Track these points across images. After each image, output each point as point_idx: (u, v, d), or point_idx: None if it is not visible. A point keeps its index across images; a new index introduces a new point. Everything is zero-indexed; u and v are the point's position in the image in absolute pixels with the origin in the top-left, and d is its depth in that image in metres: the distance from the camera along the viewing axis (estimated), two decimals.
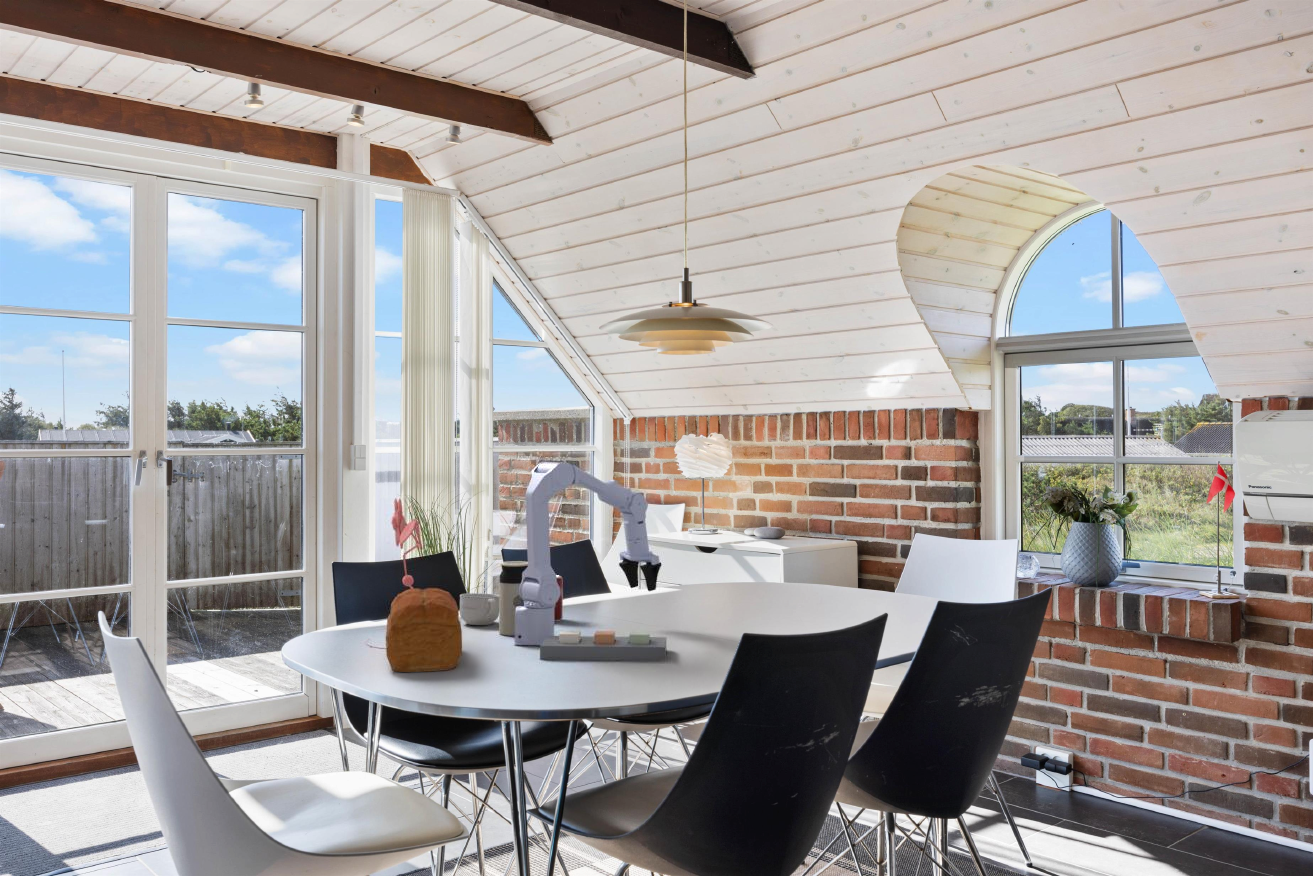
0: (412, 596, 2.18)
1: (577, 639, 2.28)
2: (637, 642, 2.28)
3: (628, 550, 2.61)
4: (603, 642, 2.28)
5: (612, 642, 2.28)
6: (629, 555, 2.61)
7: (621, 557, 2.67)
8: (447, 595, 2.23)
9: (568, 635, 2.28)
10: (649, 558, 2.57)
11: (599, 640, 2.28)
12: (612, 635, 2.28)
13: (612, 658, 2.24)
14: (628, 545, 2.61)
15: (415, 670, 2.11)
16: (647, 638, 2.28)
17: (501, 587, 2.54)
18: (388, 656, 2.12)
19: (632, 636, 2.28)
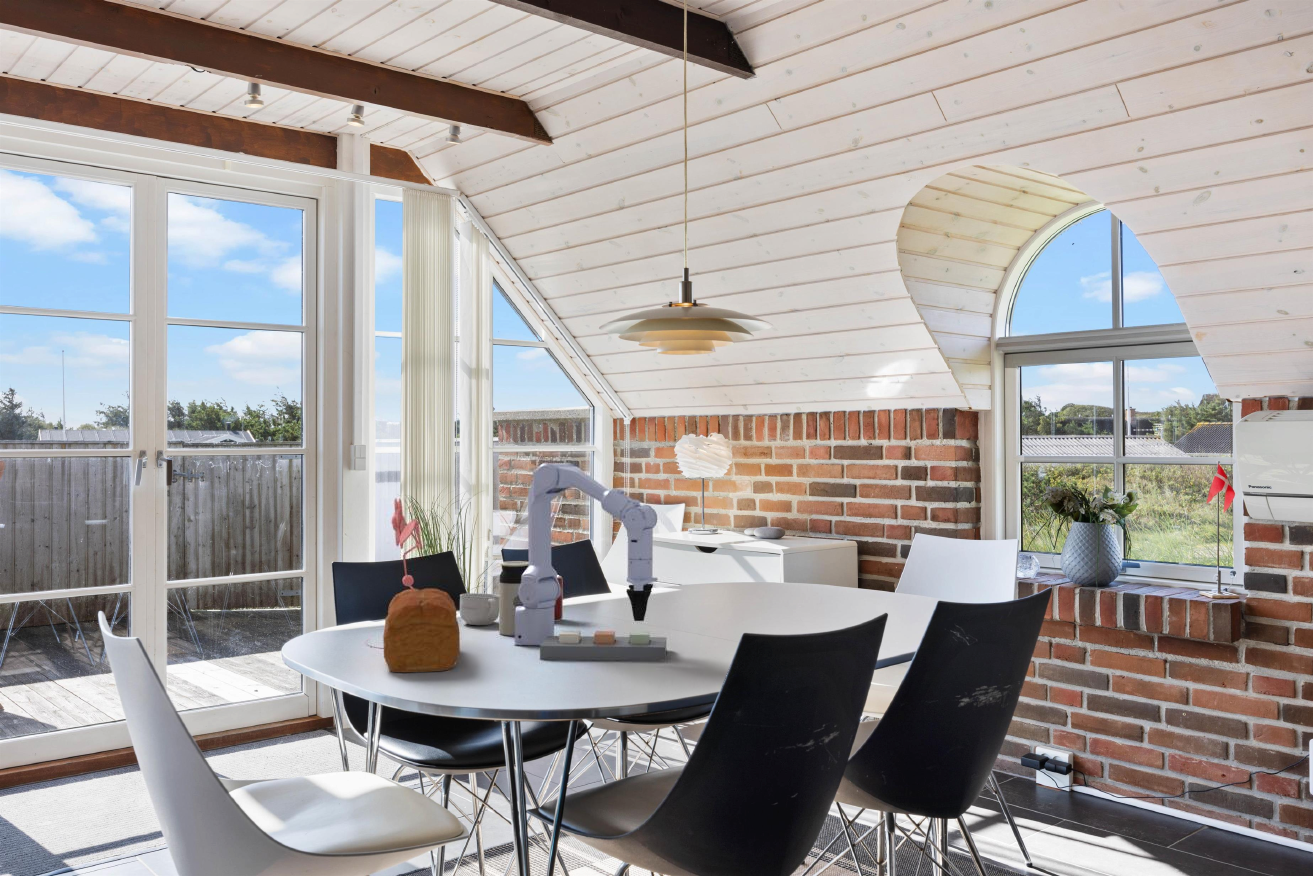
0: (410, 596, 2.17)
1: (577, 639, 2.28)
2: (637, 642, 2.28)
3: None
4: (603, 642, 2.28)
5: (612, 642, 2.28)
6: None
7: None
8: (445, 595, 2.23)
9: (568, 635, 2.28)
10: (633, 582, 2.24)
11: (599, 640, 2.28)
12: (612, 635, 2.28)
13: (612, 658, 2.24)
14: None
15: (412, 671, 2.11)
16: (647, 638, 2.28)
17: (501, 587, 2.54)
18: (385, 656, 2.11)
19: (632, 636, 2.28)
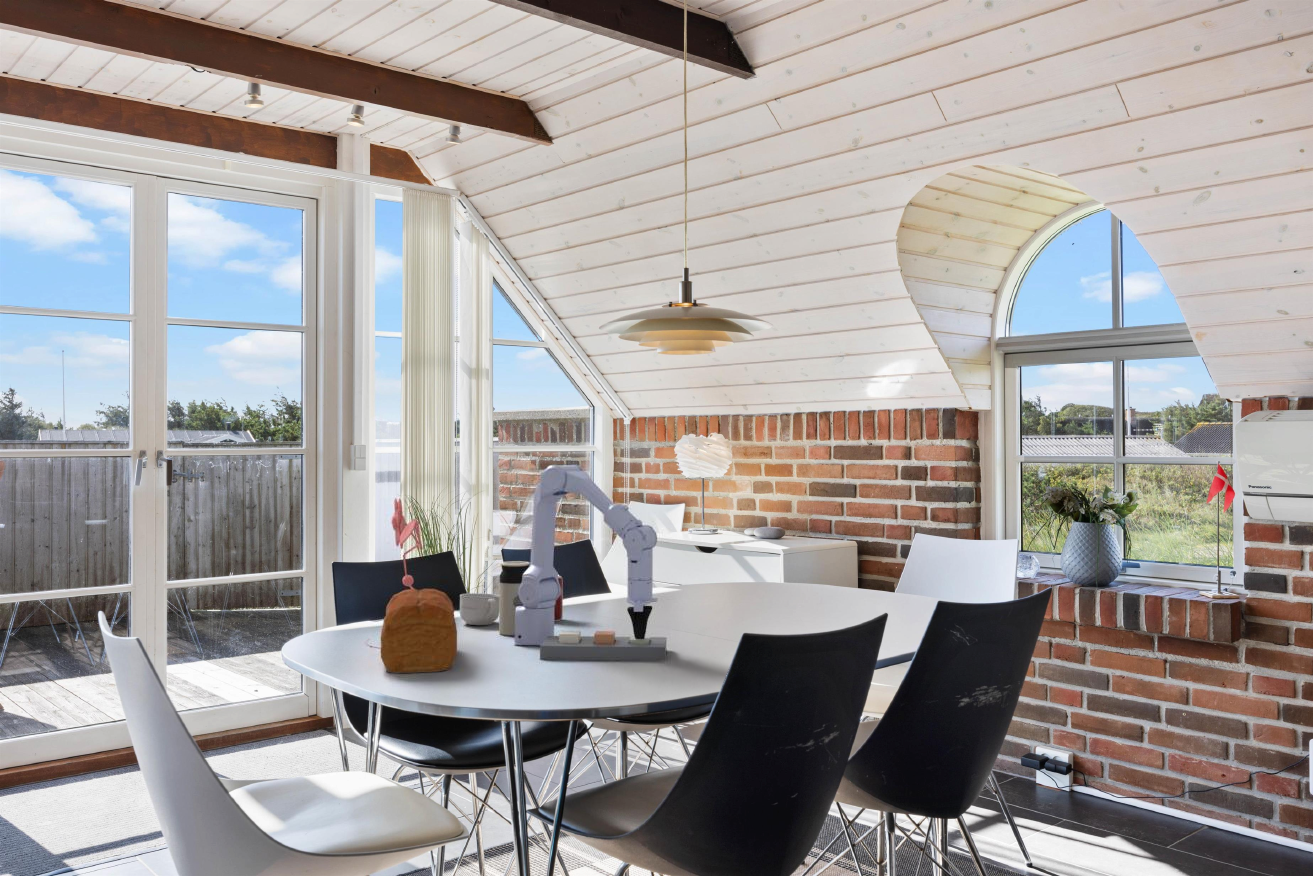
0: (407, 597, 2.17)
1: (577, 639, 2.28)
2: None
3: None
4: (603, 642, 2.28)
5: (612, 642, 2.28)
6: None
7: None
8: (443, 596, 2.22)
9: (568, 635, 2.28)
10: (633, 603, 2.24)
11: (599, 640, 2.28)
12: (612, 635, 2.28)
13: (612, 658, 2.24)
14: None
15: (409, 671, 2.10)
16: (647, 643, 2.28)
17: (501, 587, 2.54)
18: (382, 657, 2.11)
19: (632, 641, 2.28)
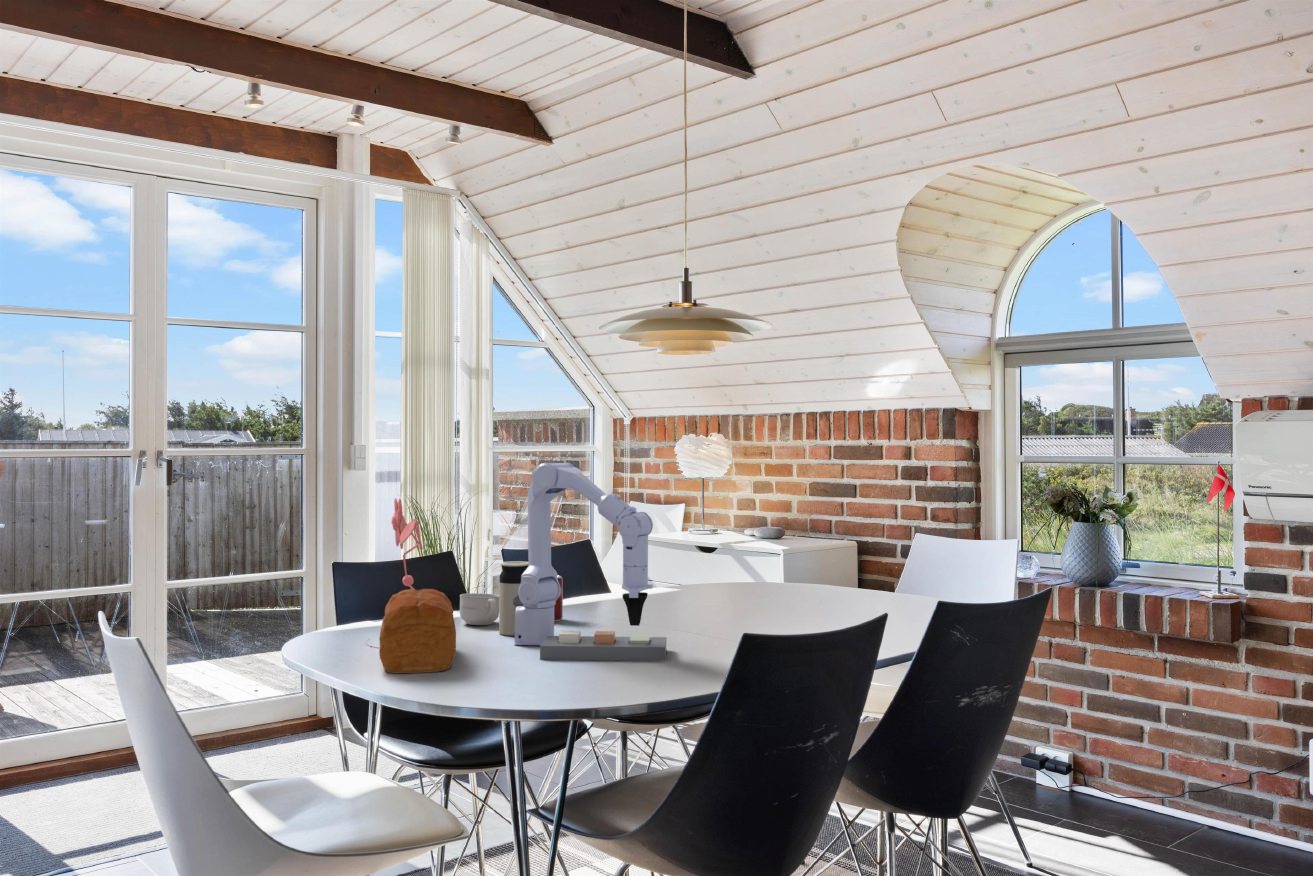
0: (406, 597, 2.17)
1: (577, 639, 2.28)
2: None
3: None
4: (603, 642, 2.28)
5: (612, 642, 2.28)
6: (623, 583, 2.30)
7: None
8: (442, 596, 2.22)
9: (568, 635, 2.28)
10: (628, 589, 2.24)
11: (599, 640, 2.28)
12: (612, 635, 2.28)
13: (612, 658, 2.24)
14: None
15: (408, 671, 2.10)
16: None
17: (501, 587, 2.54)
18: (381, 657, 2.11)
19: (632, 642, 2.28)
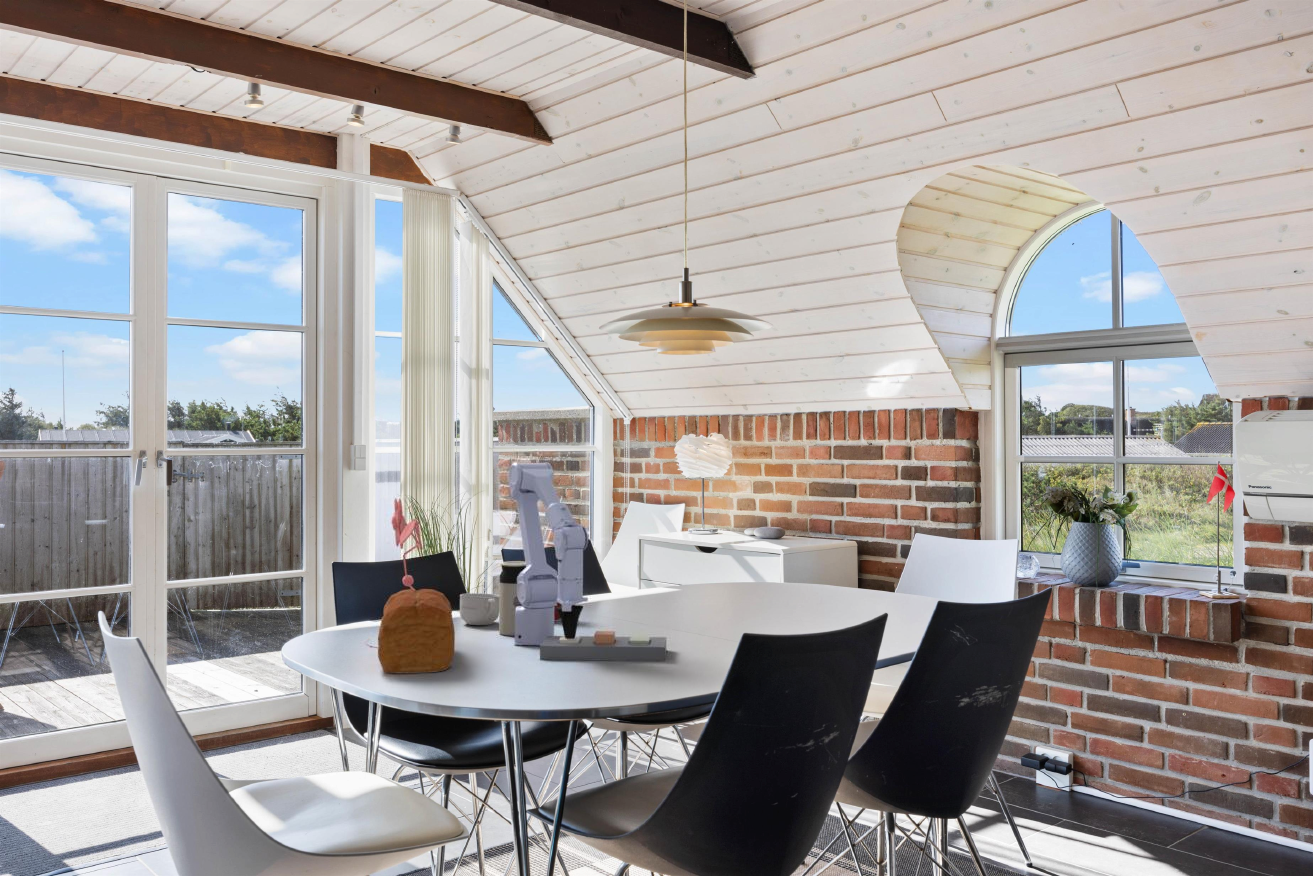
0: (404, 597, 2.16)
1: None
2: None
3: None
4: (603, 642, 2.28)
5: (612, 642, 2.28)
6: None
7: None
8: (440, 596, 2.22)
9: (568, 641, 2.28)
10: (562, 603, 2.25)
11: (599, 640, 2.28)
12: (612, 635, 2.28)
13: (612, 658, 2.24)
14: None
15: (406, 672, 2.10)
16: None
17: (501, 587, 2.54)
18: (379, 657, 2.10)
19: (632, 642, 2.28)
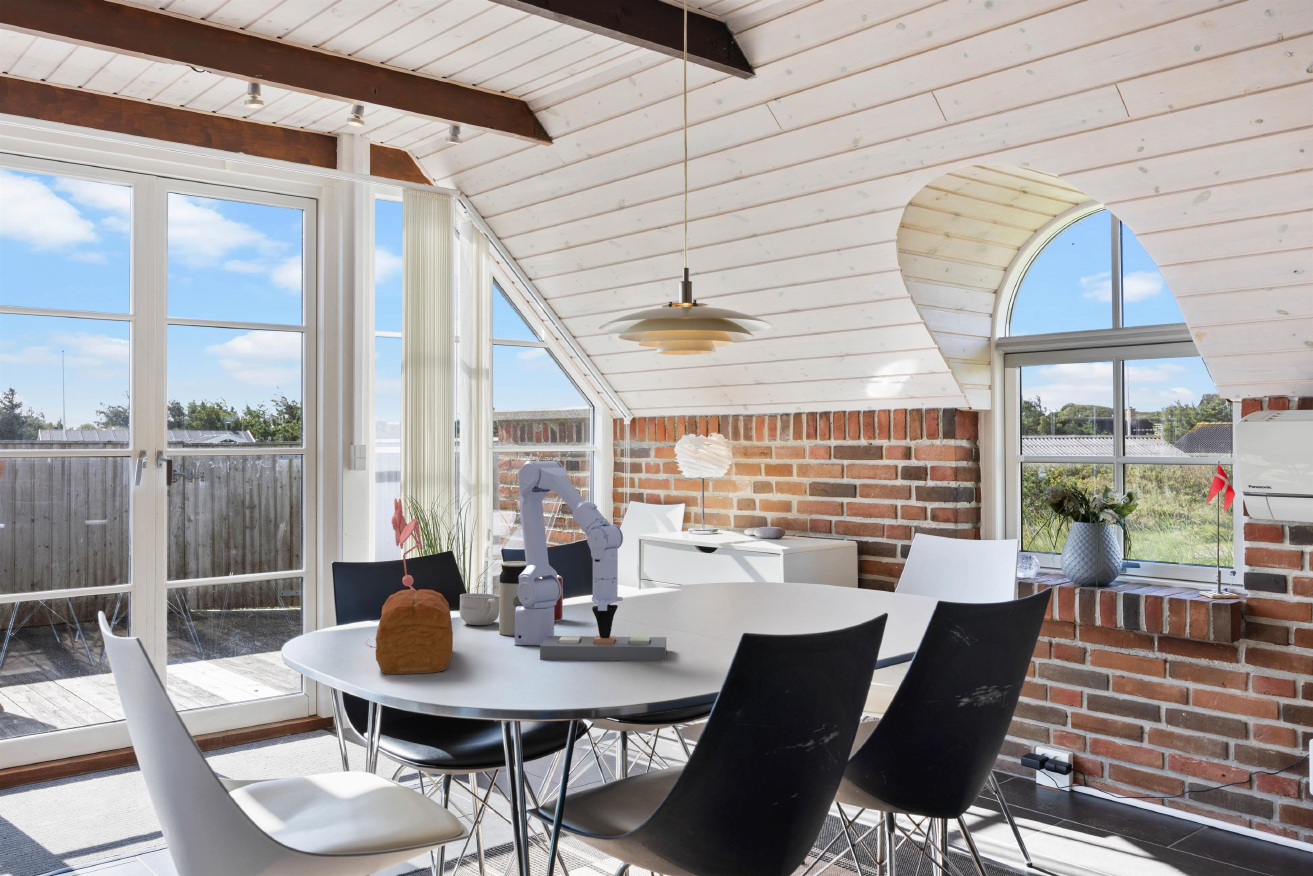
0: (402, 597, 2.16)
1: None
2: None
3: None
4: None
5: None
6: None
7: None
8: (439, 596, 2.21)
9: (568, 641, 2.28)
10: (597, 602, 2.24)
11: None
12: (612, 640, 2.28)
13: (612, 658, 2.24)
14: None
15: (404, 672, 2.09)
16: None
17: (501, 587, 2.54)
18: (377, 658, 2.10)
19: (632, 642, 2.28)
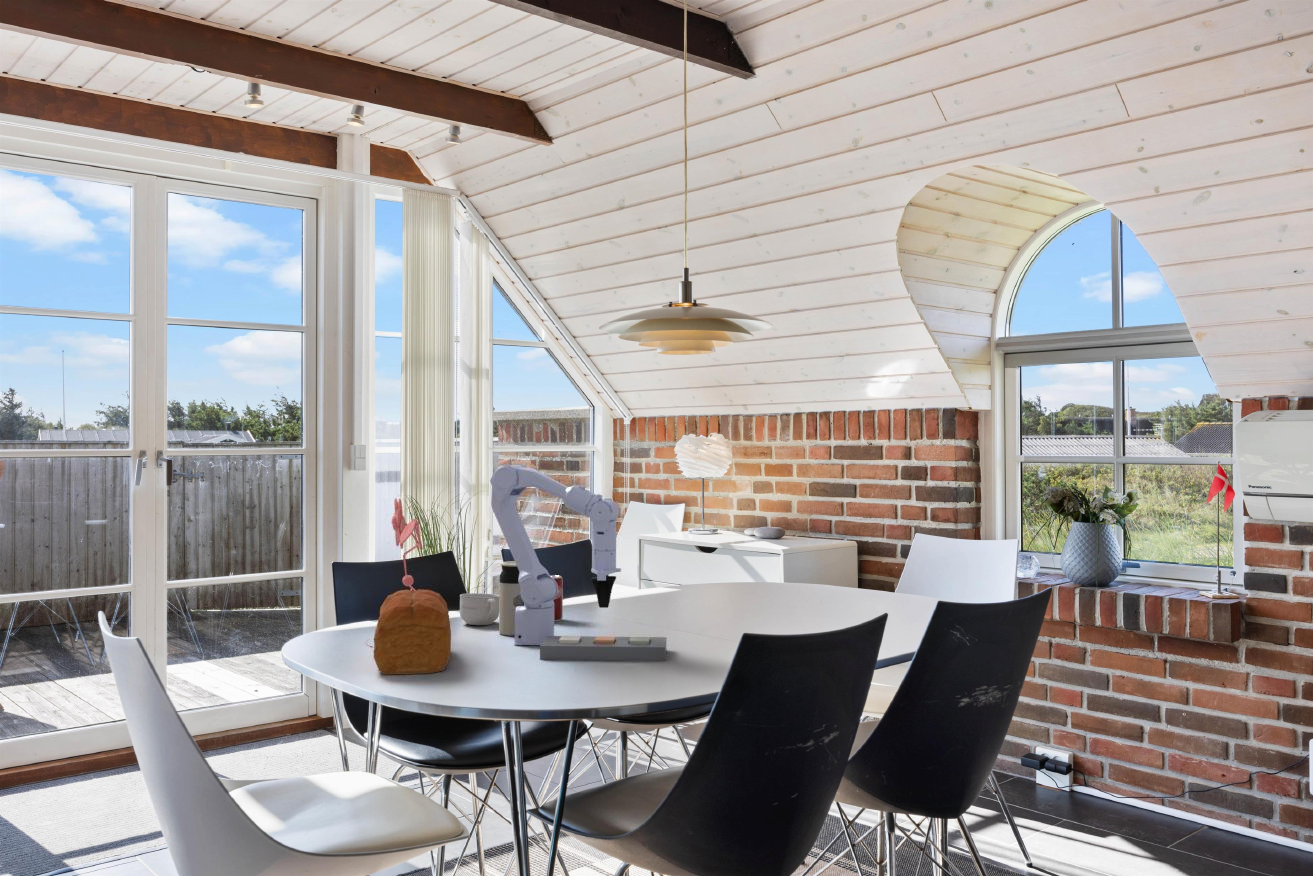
0: (401, 597, 2.16)
1: None
2: None
3: None
4: None
5: None
6: None
7: None
8: (437, 597, 2.21)
9: (568, 641, 2.28)
10: (597, 572, 2.33)
11: None
12: (612, 641, 2.28)
13: (612, 658, 2.24)
14: None
15: (402, 672, 2.09)
16: None
17: (501, 587, 2.54)
18: (375, 658, 2.09)
19: (632, 642, 2.28)
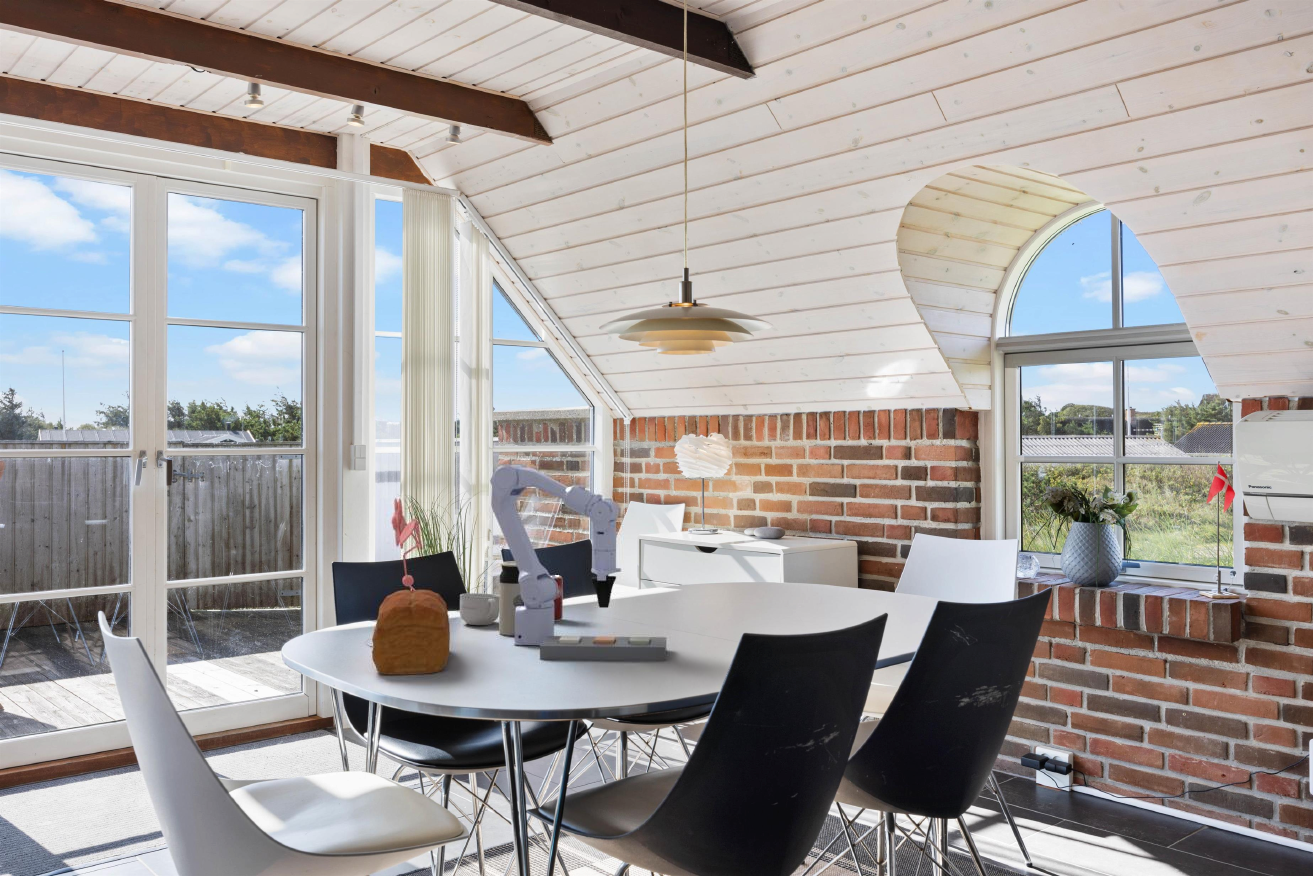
0: (399, 598, 2.15)
1: None
2: None
3: None
4: None
5: None
6: None
7: None
8: (436, 597, 2.21)
9: (568, 641, 2.28)
10: (597, 572, 2.33)
11: None
12: (612, 641, 2.28)
13: (612, 658, 2.24)
14: None
15: (400, 673, 2.08)
16: None
17: (501, 587, 2.54)
18: (374, 658, 2.09)
19: (632, 642, 2.28)
